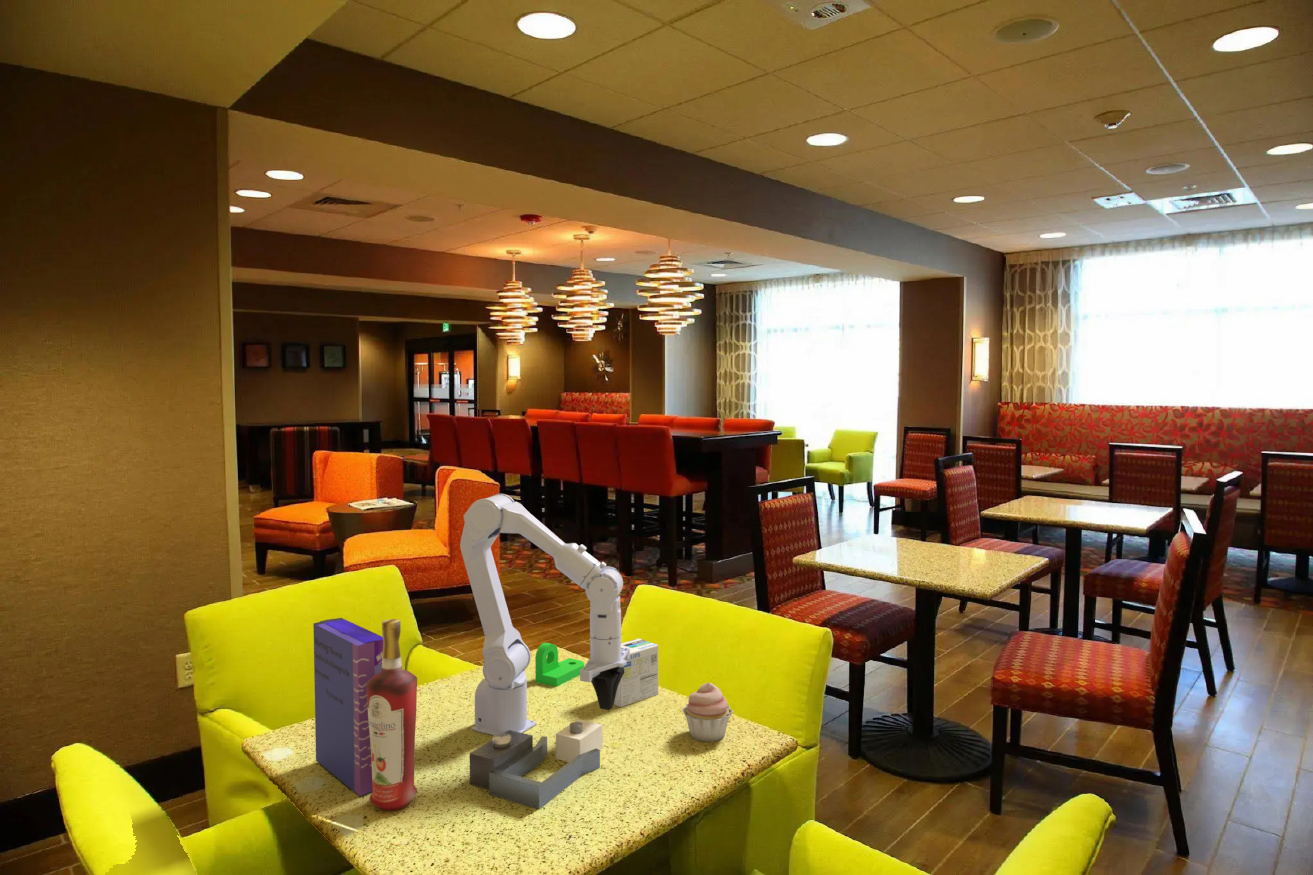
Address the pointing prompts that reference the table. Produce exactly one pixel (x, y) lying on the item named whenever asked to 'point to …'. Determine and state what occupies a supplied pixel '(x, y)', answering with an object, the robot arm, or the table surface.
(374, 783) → the liquor
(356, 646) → the cereal box
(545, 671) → the mechanical part
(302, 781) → the table surface
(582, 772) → the motor bracket
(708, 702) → the cupcake
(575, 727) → the block
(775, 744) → the table surface
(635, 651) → the light bulb box
